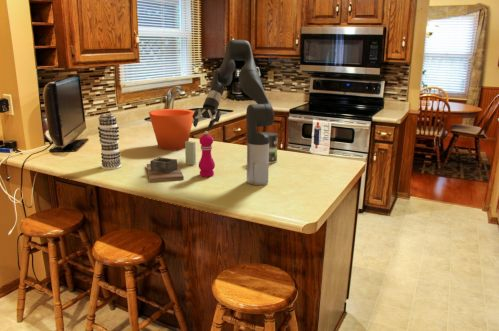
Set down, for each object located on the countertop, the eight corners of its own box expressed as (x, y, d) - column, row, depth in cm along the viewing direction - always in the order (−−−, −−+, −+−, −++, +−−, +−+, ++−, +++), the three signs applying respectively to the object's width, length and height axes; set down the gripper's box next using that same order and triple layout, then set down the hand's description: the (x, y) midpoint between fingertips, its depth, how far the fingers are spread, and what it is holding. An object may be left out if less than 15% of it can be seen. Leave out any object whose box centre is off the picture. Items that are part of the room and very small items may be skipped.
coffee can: (278, 159, 217) (279, 132, 213) (275, 164, 207) (276, 136, 203) (258, 157, 219) (259, 131, 215) (254, 163, 209) (255, 135, 205)
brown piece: (176, 164, 204) (176, 152, 202) (183, 179, 182) (183, 166, 180) (146, 166, 200) (146, 154, 198) (150, 182, 178) (149, 168, 176)
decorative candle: (113, 170, 193) (109, 116, 187) (97, 168, 197) (92, 115, 190) (125, 165, 202) (122, 113, 195) (109, 163, 205) (105, 112, 198)
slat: (195, 164, 206) (195, 142, 203) (193, 165, 204) (193, 142, 201) (187, 162, 208) (187, 141, 205) (185, 163, 206) (185, 141, 203)
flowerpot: (176, 154, 223) (174, 117, 218) (141, 148, 235) (138, 113, 230) (203, 145, 244) (203, 111, 239) (170, 140, 256) (169, 107, 251)
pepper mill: (200, 172, 192) (199, 129, 187) (215, 172, 192) (215, 129, 186) (197, 177, 185) (196, 132, 180) (214, 177, 185) (213, 133, 180)
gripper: (197, 96, 218) (186, 121, 211) (222, 97, 213) (212, 123, 206) (203, 104, 224) (192, 129, 218) (227, 106, 219) (217, 132, 212)
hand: (202, 126), depth 212 cm, fingers open, 8 cm apart
